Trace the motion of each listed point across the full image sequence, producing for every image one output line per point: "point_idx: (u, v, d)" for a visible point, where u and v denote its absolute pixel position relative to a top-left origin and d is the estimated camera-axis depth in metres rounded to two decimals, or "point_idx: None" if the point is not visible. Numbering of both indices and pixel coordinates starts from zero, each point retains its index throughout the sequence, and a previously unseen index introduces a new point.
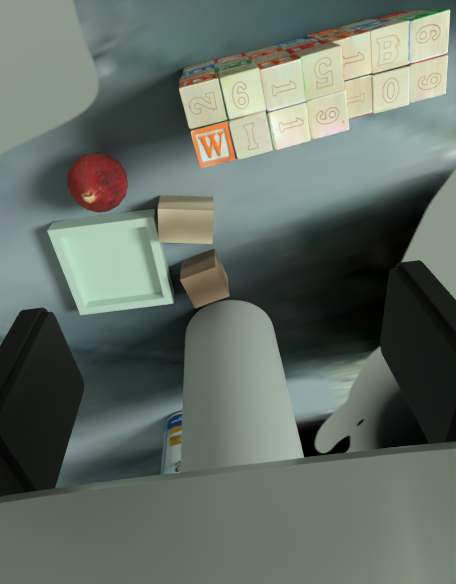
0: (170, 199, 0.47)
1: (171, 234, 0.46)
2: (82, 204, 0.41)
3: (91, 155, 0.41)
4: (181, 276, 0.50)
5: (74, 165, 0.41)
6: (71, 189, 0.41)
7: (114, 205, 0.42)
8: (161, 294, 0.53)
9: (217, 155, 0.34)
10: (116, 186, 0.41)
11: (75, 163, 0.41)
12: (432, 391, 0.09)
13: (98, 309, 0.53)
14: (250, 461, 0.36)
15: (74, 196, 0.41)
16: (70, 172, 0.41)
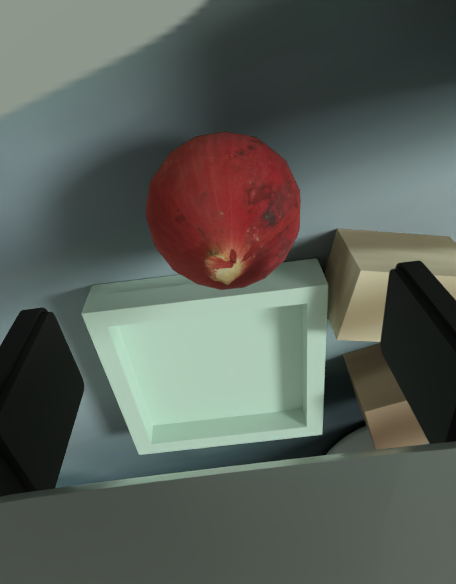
0: (367, 240, 0.20)
1: (371, 325, 0.20)
2: (190, 276, 0.15)
3: (220, 138, 0.14)
4: (363, 400, 0.23)
5: (173, 167, 0.14)
6: (163, 236, 0.14)
7: None
8: (298, 416, 0.27)
9: None
10: (290, 228, 0.14)
11: (175, 161, 0.14)
12: (432, 391, 0.09)
13: (174, 445, 0.27)
14: None
15: (170, 255, 0.15)
16: (161, 187, 0.14)
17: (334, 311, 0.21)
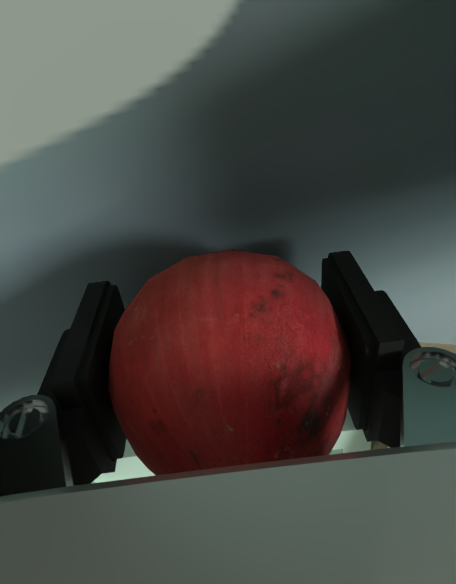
0: None
1: None
2: None
3: (226, 275, 0.09)
4: None
5: (147, 327, 0.08)
6: (132, 439, 0.09)
7: None
8: None
9: None
10: (340, 418, 0.09)
11: (151, 314, 0.09)
12: None
13: None
14: None
15: (144, 462, 0.09)
16: (127, 358, 0.09)
17: None
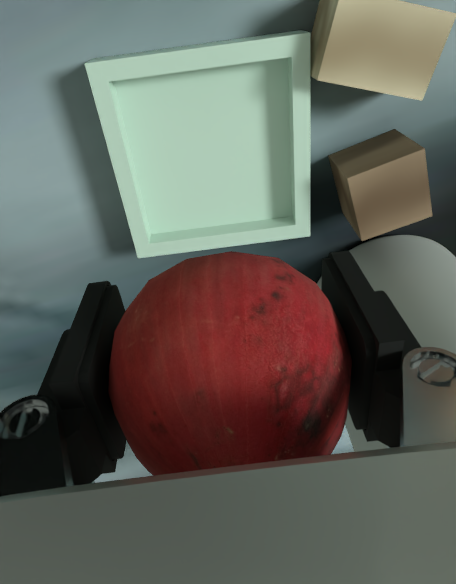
0: None
1: (349, 64, 0.22)
2: None
3: (226, 277, 0.09)
4: (346, 173, 0.25)
5: (147, 329, 0.08)
6: (132, 441, 0.09)
7: None
8: (287, 220, 0.29)
9: None
10: (341, 420, 0.09)
11: (151, 316, 0.09)
12: None
13: (171, 247, 0.29)
14: None
15: (144, 464, 0.09)
16: (127, 360, 0.09)
17: (316, 60, 0.22)
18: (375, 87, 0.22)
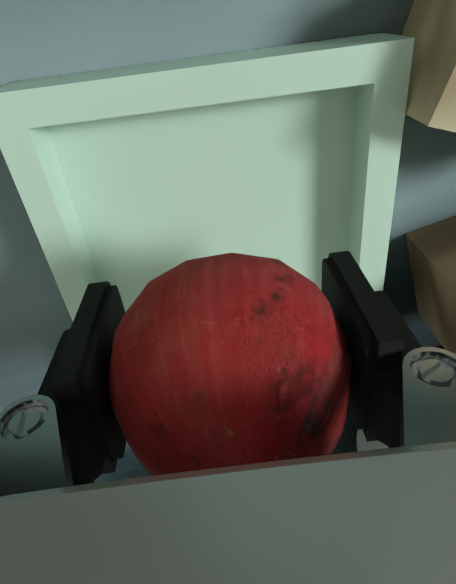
0: None
1: None
2: None
3: (226, 278, 0.09)
4: (454, 281, 0.14)
5: (148, 330, 0.08)
6: (132, 442, 0.09)
7: None
8: None
9: None
10: (340, 421, 0.09)
11: (151, 317, 0.09)
12: None
13: None
14: None
15: (144, 465, 0.09)
16: (128, 361, 0.09)
17: (421, 87, 0.12)
18: None
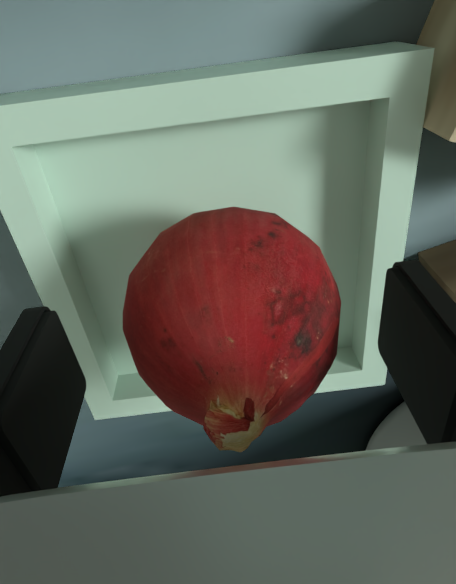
0: None
1: None
2: None
3: (228, 220, 0.10)
4: None
5: (159, 263, 0.10)
6: (144, 363, 0.10)
7: None
8: (345, 356, 0.17)
9: None
10: (330, 348, 0.10)
11: (162, 253, 0.10)
12: (428, 390, 0.09)
13: (150, 404, 0.17)
14: None
15: (154, 387, 0.10)
16: (141, 291, 0.10)
17: (440, 98, 0.11)
18: None
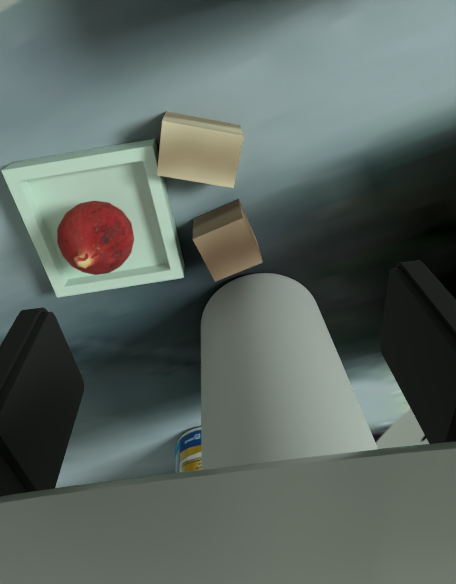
0: (180, 116, 0.32)
1: (177, 165, 0.32)
2: (76, 267, 0.32)
3: (87, 205, 0.32)
4: (194, 235, 0.35)
5: (65, 218, 0.32)
6: (61, 249, 0.32)
7: (117, 266, 0.33)
8: (167, 266, 0.39)
9: None
10: (119, 244, 0.32)
11: (66, 216, 0.32)
12: (432, 391, 0.09)
13: (80, 288, 0.39)
14: None
15: (65, 257, 0.32)
16: (60, 227, 0.32)
17: None
18: (198, 179, 0.32)
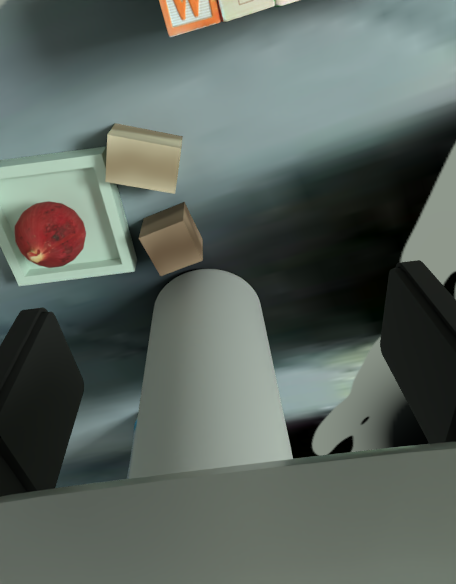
0: (127, 129, 0.36)
1: (122, 173, 0.36)
2: (31, 261, 0.36)
3: (41, 206, 0.36)
4: (141, 234, 0.39)
5: (21, 217, 0.35)
6: (18, 244, 0.36)
7: (69, 261, 0.37)
8: (119, 260, 0.43)
9: (193, 16, 0.23)
10: (69, 241, 0.36)
11: (22, 215, 0.36)
12: (432, 391, 0.09)
13: (40, 278, 0.43)
14: None
15: (21, 252, 0.36)
16: (16, 225, 0.36)
17: None
18: (143, 186, 0.36)
